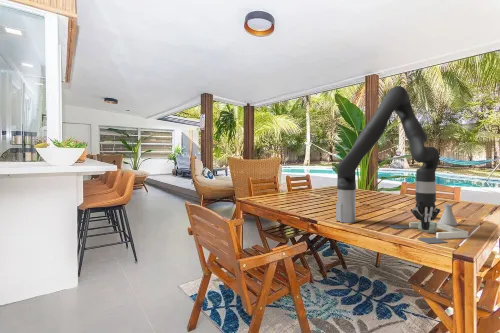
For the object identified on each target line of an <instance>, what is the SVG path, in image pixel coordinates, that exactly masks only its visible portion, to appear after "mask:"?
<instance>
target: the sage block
mask: <svg viewBox="0 0 500 333" xmlns="http://www.w3.org/2000/svg"><path fill="white" fill-rule="evenodd" d="M432 221H433V220H431V221H430V228H429V230H423V229H422V228H421V221H420V220H418V221H417V222H418V229H417V231H418V232H424V233H429V234H430V233H431V234H436V232H437V231H438V228H437V222H438V221H436V222H432Z"/></svg>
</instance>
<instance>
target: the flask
mask: <svg viewBox="0 0 500 333" xmlns="http://www.w3.org/2000/svg"><path fill="white" fill-rule="evenodd" d="M443 206H444V209H443V212H442V215H441V217H440V219H439V221H438V222H439V223H442V224H445V225H449V226H452V227H455V226H459V224H458V222H457V220H456V217H455V215H454V213H453V204H450V203H445V204H443Z"/></svg>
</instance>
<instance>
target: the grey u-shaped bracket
mask: <svg viewBox="0 0 500 333" xmlns="http://www.w3.org/2000/svg"><path fill="white" fill-rule="evenodd" d="M431 221H432V222H437V229H440V230H442V231H441V232H439V231H438V232H437V231H436V232H435V237H436V238H438V239H441V240H449V239H468V238H469V231H467V230H464V229H461V228H458V227H455V226H449V225H445V224H442V223H439V221H435V220H431ZM418 222H419V221H413V222H412V221H411V222H410V221H409V222H408V223H409V224H408V227H410V229H417V228H418Z"/></svg>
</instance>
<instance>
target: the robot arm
mask: <svg viewBox="0 0 500 333" xmlns="http://www.w3.org/2000/svg"><path fill="white" fill-rule="evenodd" d="M394 112H395V114H396V115H397V116H398V118H399V120H400V122H401V125H402V130H403V132H404V134H405V136H406V138H407V141H408V142H409V149H410V155H411V157H412V159H413V161H415V162H416V163H420V164H421V167H420V168H417V169H416V171H415V173H416V174H415V191H414V192H415V202H416V203H415V207H414V208H411V209H410V212H411V214H413V216H414V217H415V218H416V219H417V220H418V221H421V228H422V229H423V230H429V228H430V221H435V219H437V216H438V215H439V213H441V209H440V208H438V207H437V206H436V203H437V185H436V172H437V168H438V165H439V162H440V152H439V150H438V149H437V148H436V147H433V146H425V142H427V140H428V137H427V134H426V132H425V131H424V130H425V129H424V128H423V126H422V124H421V122H420V121H419V119H418V118H417V116H416V114H415V112H414V110H413V107H412V104H411V99H410V95H409V93H408V91H407V90H406V89H405V87H403V86H399V85H398V86H397V85H396V86H393V87H392V88H391V89H389V91H387V92H386V94H385V95H384V97H383V99H382V101H381V102H380V104H379V106H378V108H377V109H376V111H375V112H374V113H373V114H372V116H371V118H370V119H369V120H368V122H367V123H366V125H365V126H364V127H363V129H362V130H361V132H360V133H359V134H358V136H357V138H356V140H355V142H354V143H353V145H352V147H351V148H350V150H349V151H348V152H347V153H346V155H345V156H344V157H343V158H342V160H341V161H339V162H338V163H337V166H336V171H337V174H336V175H337V176H336V177H337V180H336V181H337V182H336V183H337V184H336V187H337V196H336V198H337V200H336V203H335V220H336V221H338V222H339V221H340V223H348V224H350V223H356V222H357V221H356V220H357V219H356V217H357V216H356V213H357V211H356V210H357V208H356V204H357V202H356V197H357V196H356V192H357V191H356V190H357V189H356V170H357V168H358V167H359V165H360V163H361V162H362V160H363V158H364V157H365V156H366V155H367V154H368V153H369V152H370V151H371V150H372V148H374V146H375V145H376V144H377V142H378V141H379V140H380V138H381V137H382V136H383V134H384V132H385V130H386V127H387V125H388V122H389V120H390V117H391V116H392V114H393V113H394ZM418 212H419V213H418Z"/></svg>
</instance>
